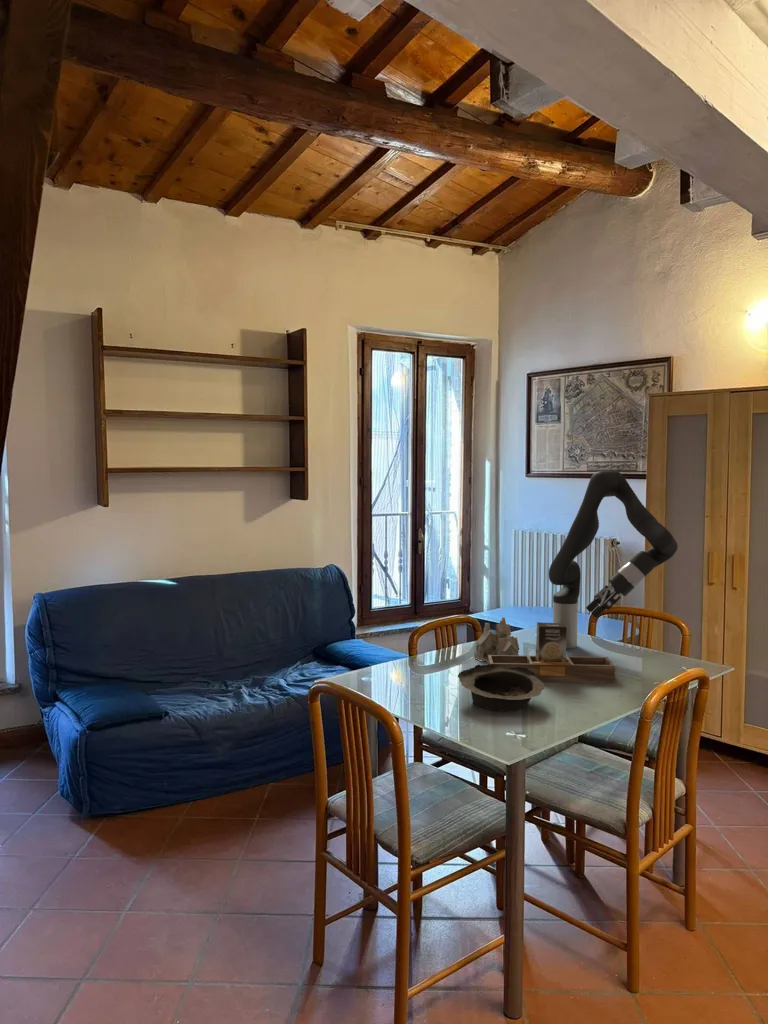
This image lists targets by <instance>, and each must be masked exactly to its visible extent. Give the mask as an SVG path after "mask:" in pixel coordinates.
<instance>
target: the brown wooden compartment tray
mask: <svg viewBox="0 0 768 1024" xmlns="http://www.w3.org/2000/svg"><path fill="white" fill-rule="evenodd" d="M488 664H489V665H492V664H493V665H494V666H495V665H496V666H500V667H504V668H514V667H516V668H517V667H522V668H527V669H528V670H530V671H532V672H534V674H535V675H536V678H538V679H539V680H540V681H541V682H553V683H554V682H555V683H556V682H561V683H562V682H563V683H564V682H567V683H602V684H603V683H605V684H606V683H608V684H609V683H610V684H611V683H612V684H615V683H616V665H615V664H614V663H613V662H612V661H611V659H610V658H609V657H608V656H571V655H570V656H568V655H566V662H536V655H520V654H518V655H488V662H487V665H488Z"/></svg>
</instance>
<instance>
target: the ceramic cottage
mask: <svg viewBox="0 0 768 1024" xmlns="http://www.w3.org/2000/svg"><path fill="white" fill-rule="evenodd" d="M490 625H491V623H489V622H485V623H484V630H483V632H482V633H481V635H480V636H479V638H478V639H477V640H475V643H476V646H475V647H476V648H475V649H476V650H475V651H474V653H473V658H474V657H475V658H477V659H479V660H482V661H481V662H484V661H486V662H485V663H488V655H519V652H520V647H519V646H520V645H519V643H518V642H519V641H518V637H515V636H513V635H512V632H511V626H510V624H509V623H507V622H506V618H505V616H504V617H503V616H502V617H501V619H500V620H499V623H496V625H495V631H494V632H495V633H492V631H491V626H490ZM475 658H474V659H475Z"/></svg>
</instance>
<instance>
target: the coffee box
mask: <svg viewBox="0 0 768 1024" xmlns="http://www.w3.org/2000/svg"><path fill="white" fill-rule="evenodd" d="M566 631H567V627H566V625H565V624H563V623H553V622H536V637H535V639H536V641H535V643H536V644H535V656H536V662H566V656H567V648H566Z"/></svg>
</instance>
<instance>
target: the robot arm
mask: <svg viewBox="0 0 768 1024" xmlns="http://www.w3.org/2000/svg"><path fill="white" fill-rule="evenodd" d="M605 497H606V498H608V497H615V498H616V499H618V501H620V502H621V503H622V504H623V506H624V509H625V513H626V517H627V520H628V521H629V523H630V524H631V525H632V527H633V528H635V530H636V531H637V532H638V533H639V534H640V535H642V537H644V538H645V539H646V540H647V542H648V543H649V544H650V545H651V546H652V547H651V548H649V549H648V550H646V551H644V550H641V551H639V552H637V553H636V554H635V555H633V557H632V558H630V560H629V561H627V562H626V563H625V564H623V565H622V566H621V567H620V568H619V569H618V570H617V571H616V572H614V573H613V575H612V576H610V577H609V578H608V580H607V581H608V583H609V584H610V585H607V584H606V585H605V586H604V587H602V588H601V589H600V590H599V591H598V592H597V593H596V594H595V595H593V600H592V601H591V602H590V603H588V604H587V606H586V607H585V610H587V611H588V612H589V613H590V614H591V615H592V616H593V617H594V618H598V617H599V616H600V615H601V614H602V613H603V612H604V611H609V610H611V608H612V607H613V606H614V605H615V604H616V603H617V602H618V601H619V600H620V599H621V597H622V596H624V597H627V595H629V593H631V592H632V591H633V590H634V589H635V588H636V587H637V586H638V585H640V583H641V582H642V581H643V580H644V578H645V577H647V576H648V575H649V574H650V572H652V571H653V570H654V569H655V568H657V567H658V566H660V565H662V564H663V563H665V562H667V561H668V560H670V559H671V558H672V557H673V556H674V555H675V554H676V552H677V551H678V542H677V540H676V539H675V538H674V535H673V534H672V533H671V532H670V531H669V530H668V529H667V528H666V527H665V526H664V525H663V524H662V523H660V522H659V520H657V518H656V517H655V516H654V515H653V514H652V513H651V512H650V511H649V510H648V508H646V507H645V505H644V504H643V503H642V502H641V500H640V499H639V498H638V496H637V494H636V493H635V491H634V490H633V488H632V487H631V485H630V483H629V482H628V481H627V479H626V478H625V477H624V475H623V474H622V473H621V472H619V471H617V470H600V471H596V472H595V473H593V474H592V475H591V477H590V479H589V482H588V484H587V487H586V490H585V493H584V496H583V499H582V502H581V505H580V507H579V509H578V511H577V514H576V516H575V518H574V520H573V522H572V523H571V526H570V529H569V531H568V533H567V535H566V538H565V540H564V542H563V544H562V546H561V547H560V548H559V551H558V553H557V554H556V555H555V557H554V559H553V561H552V562H551V564H550V567H549V569H548V580H549V581H550V582H551V584H552V585H554V586H562V587H561V589H560V590H559V591H557V592H555V593H554V594H553V595H552V596H553V597H552V623H563V624H565V625H566V627H567V631H566V649H575V648H577V646H578V607H579V605H578V602H579V601H578V599H579V597H580V591H581V579H582V578H581V576H582V575H581V574H582V573H581V567H580V565H579V563H578V562H576V561H575V559H576V558H577V557H578V556H579V555H580V554H581V553H583V552H584V551H585V550H586V549H587V548H588V547H589V546H591V544H592V542H593V541H594V539H595V537H596V536H597V533H598V531H599V527H600V522H599V521H600V520H599V516H598V515H599V514H598V510H599V506H600V504H601V503H602V501H603V499H604V498H605ZM620 594H621V595H622V596H621V595H620Z"/></svg>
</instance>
